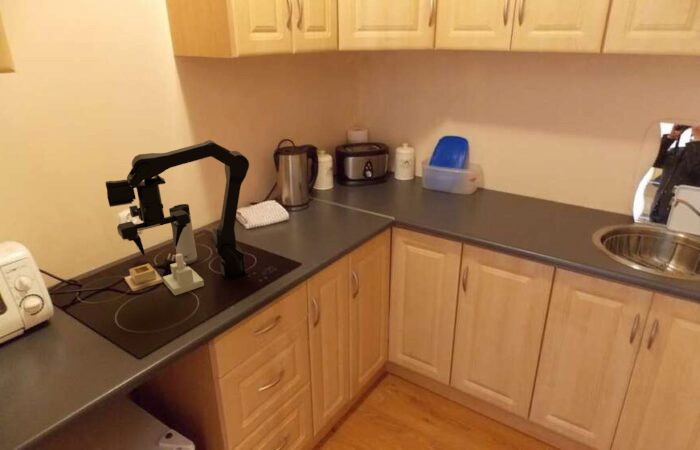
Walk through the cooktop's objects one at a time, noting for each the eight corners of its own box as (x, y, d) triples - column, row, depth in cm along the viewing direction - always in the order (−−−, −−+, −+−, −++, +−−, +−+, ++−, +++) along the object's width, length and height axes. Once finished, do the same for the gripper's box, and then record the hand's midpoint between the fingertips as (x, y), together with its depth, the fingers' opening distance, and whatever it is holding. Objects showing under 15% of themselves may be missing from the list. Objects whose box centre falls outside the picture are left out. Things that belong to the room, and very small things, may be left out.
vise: (192, 273, 149) (187, 245, 145) (204, 285, 142) (199, 256, 138) (163, 282, 144) (158, 253, 140) (174, 295, 137) (169, 265, 133)
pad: (154, 271, 151) (153, 268, 151) (163, 281, 144) (162, 279, 144) (124, 280, 146) (124, 277, 146) (132, 291, 139) (132, 288, 139)
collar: (150, 271, 149) (148, 263, 148) (156, 278, 144) (154, 270, 143) (130, 277, 145) (128, 269, 144) (136, 285, 141) (134, 276, 140)
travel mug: (190, 265, 154) (181, 209, 146) (174, 263, 156) (164, 207, 148) (202, 257, 160) (193, 203, 152) (185, 255, 162) (176, 201, 154)
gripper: (173, 186, 140) (181, 233, 146) (107, 200, 130) (118, 250, 136) (187, 195, 132) (195, 245, 138) (117, 211, 122) (129, 264, 128)
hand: (159, 250), depth 135 cm, fingers open, 9 cm apart
